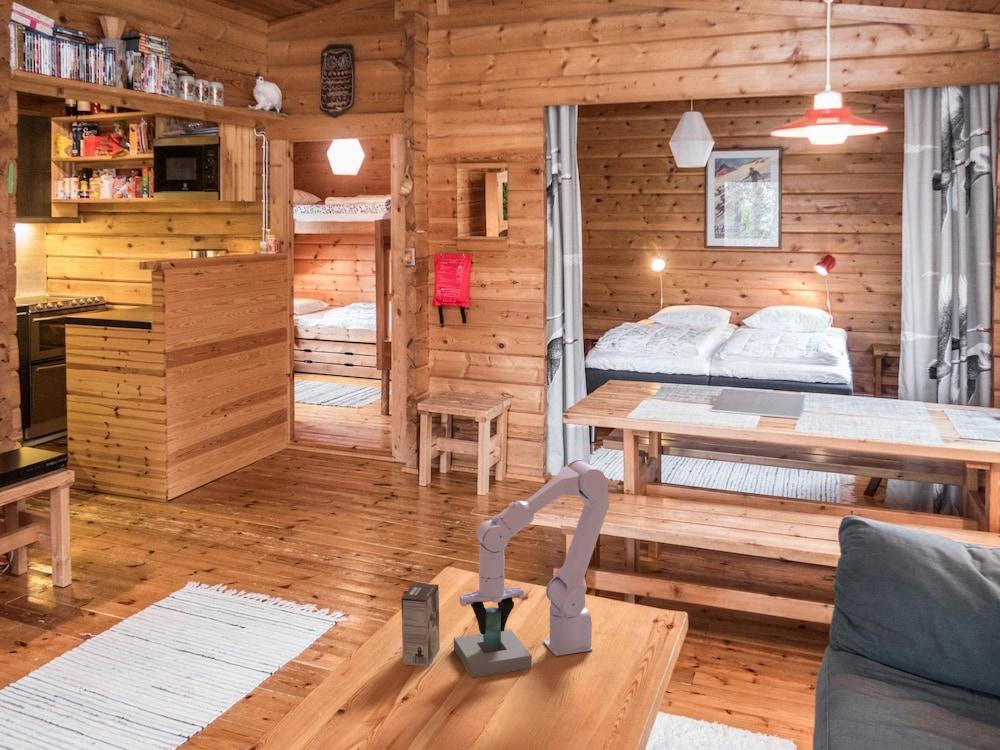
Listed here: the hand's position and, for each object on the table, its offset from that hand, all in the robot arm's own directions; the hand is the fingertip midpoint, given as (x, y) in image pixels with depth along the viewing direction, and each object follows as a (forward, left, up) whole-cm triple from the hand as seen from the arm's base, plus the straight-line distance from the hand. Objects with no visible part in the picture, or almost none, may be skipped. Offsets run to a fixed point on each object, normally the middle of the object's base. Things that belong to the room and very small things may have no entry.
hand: (491, 631), depth 207 cm
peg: (0, 0, -2) cm, 2 cm away
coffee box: (+15, -6, -7) cm, 18 cm away
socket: (0, 0, -7) cm, 7 cm away
